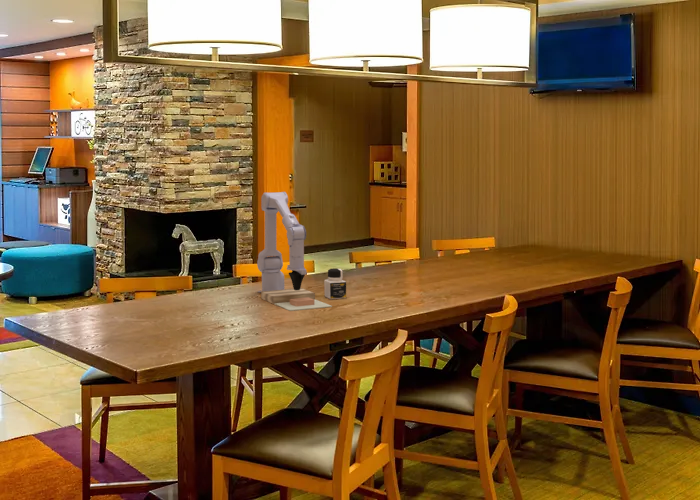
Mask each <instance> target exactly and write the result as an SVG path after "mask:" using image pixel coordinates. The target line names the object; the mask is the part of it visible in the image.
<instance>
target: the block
mask: <svg viewBox="0 0 700 500" xmlns="http://www.w3.org/2000/svg"><path fill="white" fill-rule="evenodd" d="M290 304H291V305H294V306H306V305H314V299H311V298H309V297H306V298H295V299H290Z"/></svg>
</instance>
